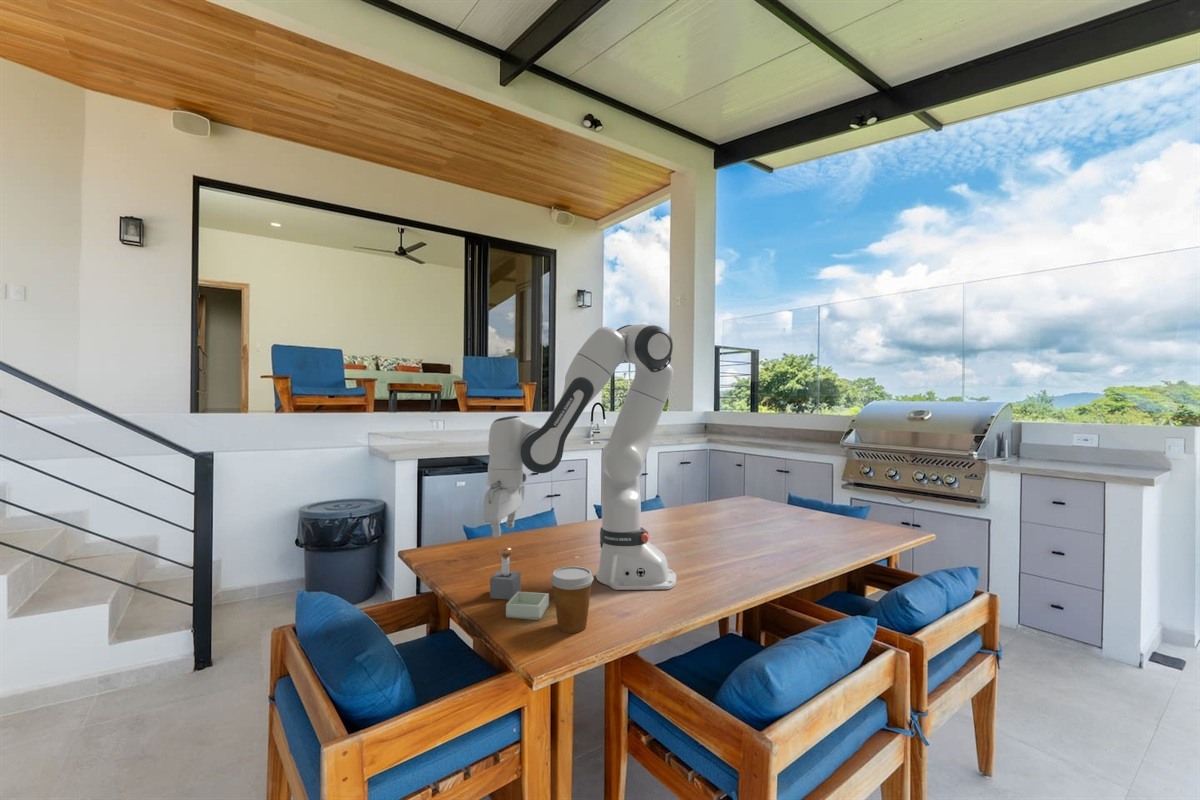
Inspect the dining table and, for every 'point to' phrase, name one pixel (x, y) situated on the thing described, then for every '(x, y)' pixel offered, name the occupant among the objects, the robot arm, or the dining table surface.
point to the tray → (527, 605)
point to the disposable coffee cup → (572, 597)
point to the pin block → (505, 585)
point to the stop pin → (505, 559)
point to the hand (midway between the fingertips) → (503, 532)
